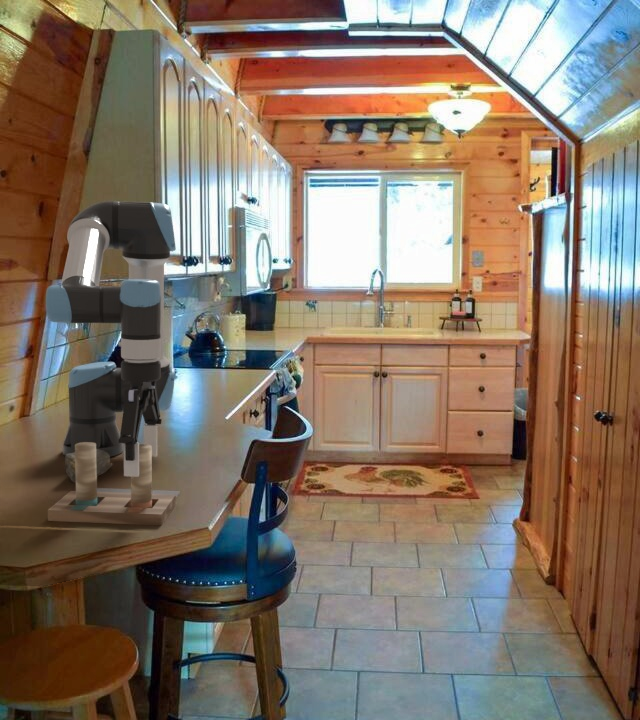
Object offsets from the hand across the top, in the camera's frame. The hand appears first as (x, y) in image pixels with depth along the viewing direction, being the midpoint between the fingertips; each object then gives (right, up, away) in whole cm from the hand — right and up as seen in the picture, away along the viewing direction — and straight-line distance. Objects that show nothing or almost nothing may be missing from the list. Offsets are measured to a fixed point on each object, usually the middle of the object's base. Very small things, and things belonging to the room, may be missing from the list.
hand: (141, 465), depth 147 cm
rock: (-18, -7, +26) cm, 33 cm away
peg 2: (0, -10, +1) cm, 10 cm away
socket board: (-6, -10, +1) cm, 11 cm away
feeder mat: (-5, -8, +12) cm, 16 cm away
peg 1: (-11, -10, +1) cm, 15 cm away
